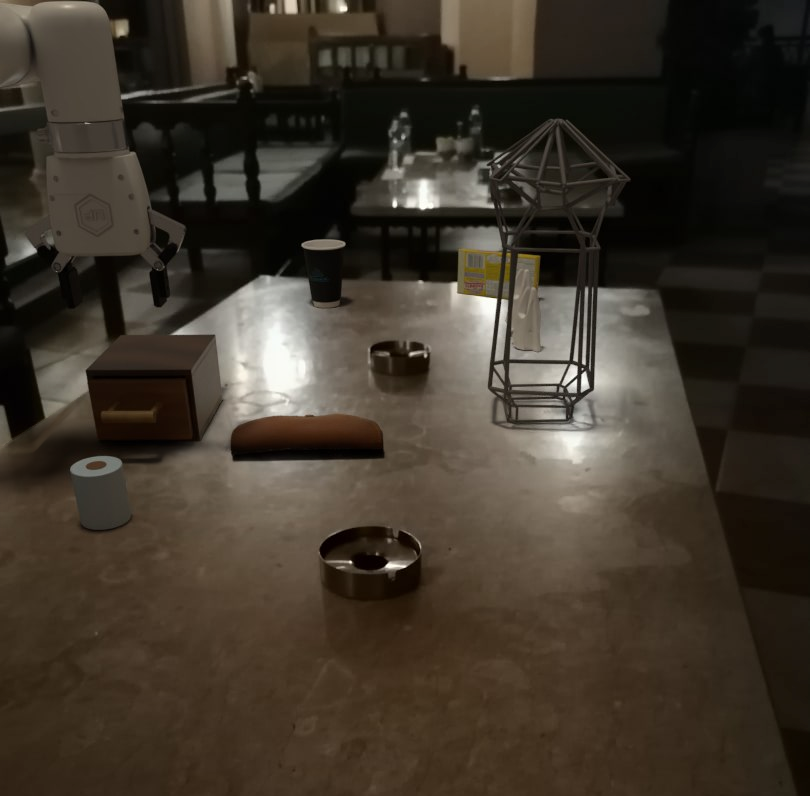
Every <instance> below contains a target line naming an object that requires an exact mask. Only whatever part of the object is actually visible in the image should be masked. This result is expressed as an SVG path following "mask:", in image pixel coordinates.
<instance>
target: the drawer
mask: <svg viewBox="0 0 810 796" xmlns="http://www.w3.org/2000/svg"><path fill="white" fill-rule="evenodd" d="M86 383H87V389H88V394H89V400H90V405H91V410H92V416H93V420H94V421H93V422H94V426H95V433H96V437H97V440H98V441H99V440H136V439H192V437H193V429H192V421H191V414H190V406H189V399H188V391H187V384H186V378H185V376H101V377H100V379H90V380H89V381H88V382H86Z"/></svg>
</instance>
